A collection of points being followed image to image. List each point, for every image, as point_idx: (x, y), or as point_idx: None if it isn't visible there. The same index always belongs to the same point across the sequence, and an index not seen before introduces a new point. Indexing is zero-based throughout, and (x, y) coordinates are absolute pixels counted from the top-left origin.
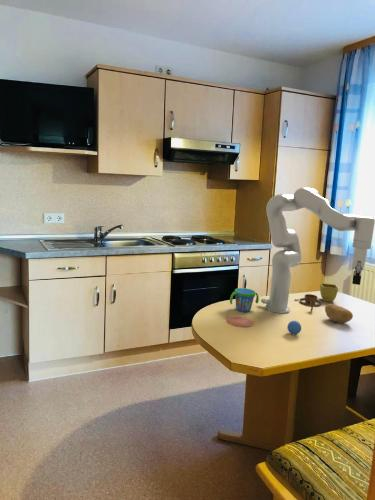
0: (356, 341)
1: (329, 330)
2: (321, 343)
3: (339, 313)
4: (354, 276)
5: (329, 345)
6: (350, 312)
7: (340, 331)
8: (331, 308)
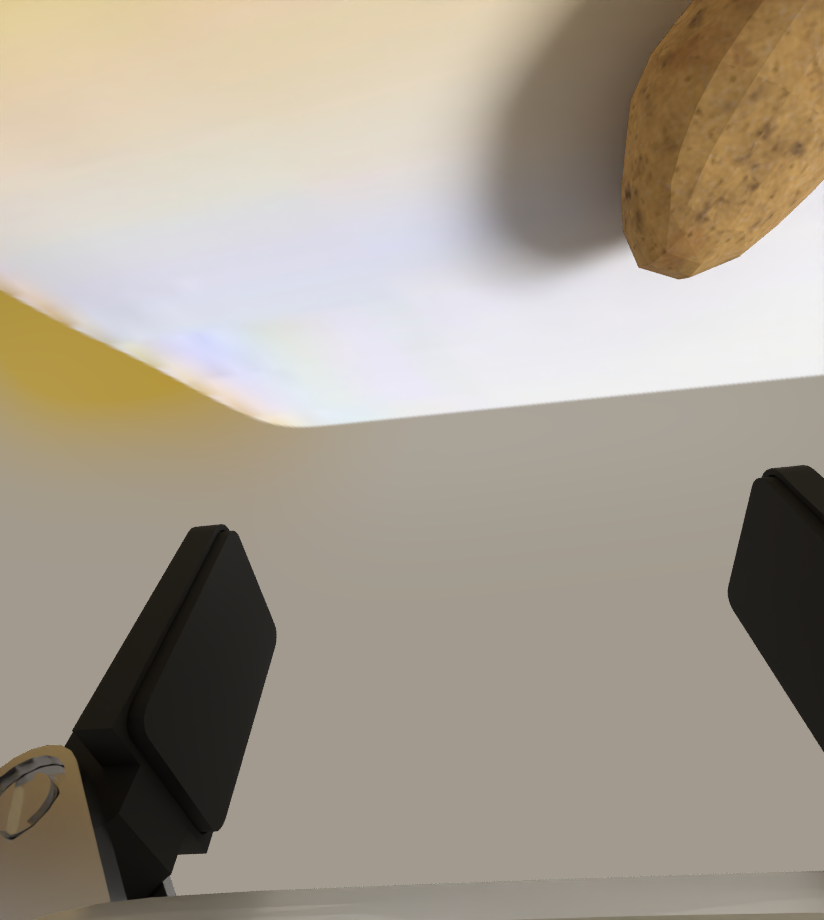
0: (313, 345)
1: (396, 102)
2: (33, 118)
3: (648, 143)
4: (112, 710)
5: (59, 190)
6: (687, 260)
7: (441, 201)
8: (748, 3)
